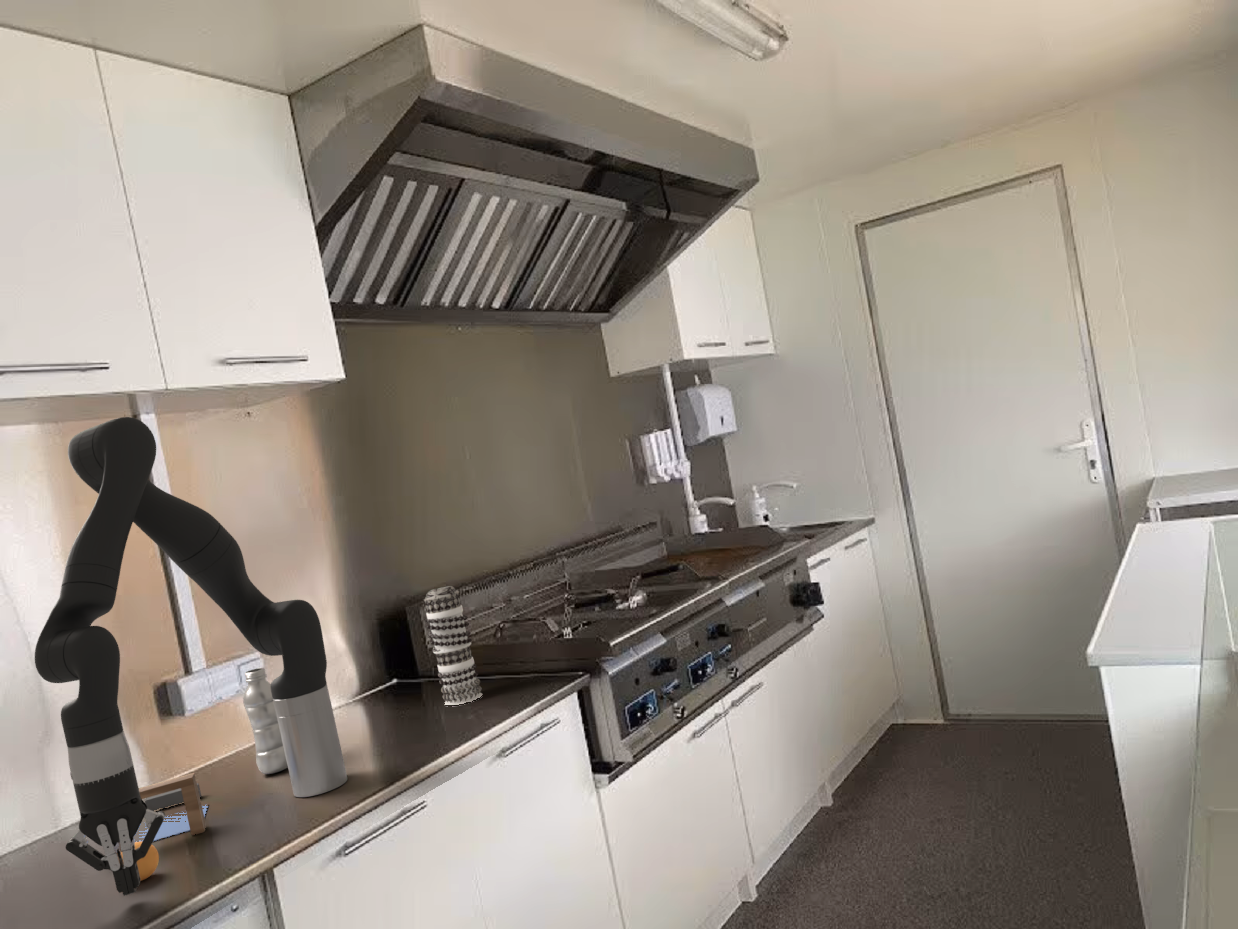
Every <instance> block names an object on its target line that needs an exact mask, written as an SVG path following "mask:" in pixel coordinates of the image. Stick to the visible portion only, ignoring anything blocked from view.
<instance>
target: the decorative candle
mask: <svg viewBox="0 0 1238 929" xmlns="http://www.w3.org/2000/svg"><path fill="white" fill-rule="evenodd" d="M459 593H460V590H457V589H456V588H455V587H454V586H452V585H447V586H441V587H437V588H434V589H431V590H429V591H427V593H426V595H425V598H423V599H422V601H424V606H425V611H426V612H425V615H426V617H425V618H424V621H425V622H426V624H425V626H424V627H426V628H427V630H429V631H428V633H427V635H428V636H429V638H430V640H429V643H430V644H431V645H432V646H433V647H432V650H431V651H432V653H433V654H435V657H436V661H437V665H436V666H437V670H438V673H437V677H438V678H439V679H440V680H439V681H438V683H439V685H441V686H442V687H441V688H440V692H441V693H442V694H443V695H442V699H443V700H444V701H445V702H444V703H445V704H444V706H445V705H459V704H464V703H466V702H471V703H473V702H474V701H473V700H476V699H477V698H480V697H481V696H482V695H483V693H482V687H481V685H480V683H481V680H480V679H479V678H478V677H477V676H478V675H479V671H477V670H476V669H477V668H478V665H477V664H475V660H474V656H473V655H472V650H471V645H472V640H473V639H472V638H470V637H469V636H470V635H471V632H470V631H468V630H467V628H468V627H469V625H470V623H469V622H467V621H466V620H467V619H468V615H466V614H463V612H464V608H463V605H462V603H461V598H460V596H459ZM482 697H483V696H482ZM482 697H481V698H482ZM481 698H480V699H481ZM472 701H473V702H472ZM476 701H477V700H476ZM464 705H465V704H464ZM459 706H460V705H459Z"/></svg>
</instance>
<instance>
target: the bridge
mask: <svg viewBox="0 0 1238 929" xmlns="http://www.w3.org/2000/svg"><path fill="white" fill-rule="evenodd" d="M197 783H198V782H197V779H196V775H195V772H191V773H188V774H185V775H182V776H181V775H180V776H177V777H174V778H171V779H166V780H162V781H160V782H156V783H153V784H150V785H149V784H148V785H145V786H142V787H138V788H139V792H140V796H141V799H142V800H144V799H146V798H148V797H151V796H155V795H158V794H162V793H166V792H169V791H173V790H176V789H180V788H181V791H182V795H183V800H184V804H183V805H184V808H185V811H186V813H187V818H188V822H189V827H190V831H189V832H190V835H192V836H195V834H196V835H199V834H202V833H204V832H206V829H207V824H206V819H205V818H206V817H205V818H204V814H203V809H202V806H203V804H202V800H201V799H200V796H199V791H198V787H197ZM205 828H206V829H205ZM119 848H120V851H121V846H120V842H119ZM121 852H122V851H121Z"/></svg>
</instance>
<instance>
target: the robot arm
mask: <svg viewBox="0 0 1238 929" xmlns="http://www.w3.org/2000/svg"><path fill="white" fill-rule="evenodd" d="M155 439H156V438H155V436H154V434H153V431H152V430H151V429H150V427H149V426H148V425H146V424H145V423H144V421H142V420H140V419H138V418H135V417H132V416H131V417H130V416H123V417H116V418H114V419H111V420H110V419H109V420H107V421H105V422H103V423H101V424H98V425H95V426H91V427H89V428H86V429H84V430H83V431H80V432H79V433H77V434H76V435H74V436H73V437H72V438H71V439H70V441H69V443H68V445H67V446H68V447H67V457H68V461H69V463H70V466H71V467H72V469H73V470H74V473H75V474H76V475H77V476H78V477H79V478H80V479H81V481H83V482H84V483H85V484H86V485H87V486H88V487H90V488H91V489H92V490H93V491H95V492H96V493H97V494H98V495H97V497H96V500H95V502H94V505H93V506H92V508H91V511H90V513H89V515H88V517H87V519H85V522H84V523H83V524H82V527H80V530H79V531H78V534H77V536H76V537H75V539H74V541H73V544H72V545H71V548H70V550H69V553H68V555H67V558H66V563H65V566H64V573H63V576H62V582H61V586H60V592H59V596H58V599H57V601H56V603H55V604H54V607H53V608H52V610H51V612H50V613H49V616H48V618H47V620H46V621H45V624H44V626H43V627H42V630H41V632H40V633H39V637H38V638H37V642H36V645H35V650H34V664H35V668H36V671H37V673H38V674H39V677H41V678H42V679H43V680H45V681H46V682H48V683H53V684H64V683H71V682H74V681H75V682H76V681H78V683H79V684H78V686H79V687H78V694H77V697H76V698H74V699H72V700H70V701H68V702H66V703H65V704H64V705H63V706H62V707H61V709H60V721H61V725H62V729H63V734H64V739H65V743H66V748H67V753H68V754H67V755H68V767H69V770H70V771H69V772H70V773H69V774H70V775H69V776H70V778H71V781H72V784H73V789H74V793H75V797H76V798H75V799H76V802H77V806H78V810H79V816H80V819H79V823H78V829H79V830H78V831H77V832H76V833H75V835H74V836H72V837H70V839H69V840H68V841H67V843H66V844H65V850H66V851H67V852H70V853H71V854H72V855H73V856H74V857H76V858H78V859H80V861H82V862H84V863H86V864H87V865H89V866H90V867H92V868H93V869H94V870H96V871H97V872H98V871H99V872H101V871H103V870H108V871H111V872H112V874H113V879H114V882H115V887H116V891H117V892H118V893H122V895H123V897H125V896H128V895H132V894H135V893H136V891H137V889H138V888H139V886H140V885H141V881H140V880H141V879H140V874H139V870H138V866H137V861H138V860H140V859H141V858H144V857H145V856H146V854H147V852H148V850H149V848H150V846H151V844H152V845H153V843H154V842H153V840H154V838H155V836H156V834H157V832H158V830H159V829H160V827H161V825H162V823H163V820H164V818H165V817H166V813H165V812H164V810H161V811H157V812H154V811H151V810H149V809H147V805H146V803H145V800H144V799H141V796H140V792H139V788H140V787H139V784H138V779H137V775H136V770H135V766H134V761H133V757H132V752H131V748H130V744H129V741H128V739H127V737H126V734H125V731H124V728H123V723H122V722H123V721H122V719H121V718H122V717H121V714H120V709H119V704H118V700H119V698H118V697H119V696H118V695H119V684H120V683H119V681H120V680H119V679H120V668H121V667H120V666H121V665H120V664H121V654H120V653H121V652H120V647H119V644H118V641H117V640H116V638H115V636H114V635H113V634H112V632H110V630H108V629H107V628H105V627H103V626H100V625H92V624H93V623H94V622H95V621H96V620H97V619H99V618H101V617H103V616H105V615H106V614H108V613H109V612H111V610H113V607H114V604H115V601H116V597H117V591H118V586H119V579H120V575H121V568H122V564H123V559H124V558H123V557H124V555H125V554H124V553H125V549H126V546H127V542H128V538H129V535H130V531H131V529H132V526H133V523H134V524H135V525H136V526H137V528H139V529H140V530H141V531H142V532H143V533H144V534H145V535H146V536H147V537H148V538H149V539H151V540H152V541H153V542H154V543H155V545H157V546H158V547H159V548H160V549H161V550H162V551H163V552H164V553H165V554H166V555H167V557H169V558H170V560H172V562H173V563H174V564H175V565H176V566H177V568H179V569H180V570H181V571H183V572H184V574H185V575H186V576H188V577H189V578H190V579H191V580H192V581H193V582H194V583H196V584H197V586H199V587H200V588H201V590H202V591H203V592H204V593H205V594H206V595H207V596H208V597H209V598H210V599H211V600H212V601H213V602H214V603H215V604H216V605H217V606H218V607H219V608H220V609H222V611H223V612H224V613H225V615H226V616H228V618H229V619H230V620H231V622H232V623H233V624H234V625H235V627H236V628H237V629H238V630H239V632H240V633H241V634H242V636H243V637H244V638H245V640H246V641H248V643H249V644H250V645H251V646H252V648H253V649H255V650H256V651H257V652H258V653H261V654H262V655H266V656H270V657H271V656H272V657H274V656H282V664H283V671H282V672H281V674H279V676H278V677H276V678H275V679H273V680H272V681H271V683H270V684H271V686H270V687H271V693H272V698H273V702H274V707H275V711H276V715H277V720H278V724H279V729H280V733H281V738H282V743H283V747H284V752H285V756H286V761H287V765H288V768H287V769H288V774H289V778H290V782H291V789H292V793H293V796H294V797H297V798H307V797H313V796H317V795H321V794H324V793H327V792H330V791H332V790H335V789H337V788H339V787H340V786H341V787H342V785H344V784H345V783H346V782H347V781H348V776H347V770H346V765H345V762H344V756H343V751H342V747H341V741H340V738H339V733H338V728H337V723H336V720H335V719H336V718H335V715H334V709H333V706H332V702H331V698H330V692H329V689H328V687H329V686H328V682H327V676H326V675H327V674H326V673H327V667H328V666H327V664H328V662H327V655H326V648H325V643H324V638H323V637H324V636H323V630H322V626H321V621H320V617H319V616H318V613H317V611H316V610H315V608H314V606H313V605H312V604H311V603H310V602H308V601H306V600H304V599H291V600H284V601H279V602H278V601H277V602H275V601H272V600H271V599H270V598H268V597H267V596H266V595H265V594H263V593H262V592H261V591H260V589H258V588H257V586H256V585H255V584H254V583H253V582H252V580H251V579H250V578H249V576H248V573H247V569H246V564H245V559H244V556H243V552H242V550H241V547H240V545H239V544H238V542H237V540H236V539H235V538H234V536H233V535H232V534H230V532H229V531H228V530H227V529H226V528H225V527H224V526H223V525H222V524H221V522H220V521H219V520H217V518H215V517H214V516H213V515H212V514H210V512H208V511H206V510H205V509H203V508H201V507H199V506H197V505H195V504H193V503H191V502H188V501H186V500H184V499H182V498H180V497H177V496H175V495H173V494H170V493H168V492H167V491H165V490H162V489H161V488H160V487H158V486H157V485H155V484H154V483H153V482H151V481H150V480H149V478H150V476H151V473H152V469H153V468H154V465H155V461H156V456H157V443H156V440H155ZM143 819H145V822H146V823H145V822H144V823H145V826H146V827H147V828H149V830H148V832H147V834H146V836H145V838H144V840H143V842H142V844H141V846H140V847H139V848H137V849H136V850H135V839H134V836H135V835H136V833H137V831H138V829H139V827H140V825H141V823H143ZM89 839H90V840H91V841H93V842H94V843H96V845H98V846H100V847H102V849H103V852H104V853H102V852H100V851H99V850H97V849H96V848H95V847H93V846H92V845H91V844H89ZM119 842H120V846H121V851H122V854H121V851H120V848H119ZM122 855H123V858H122ZM123 862H124V863H123Z"/></svg>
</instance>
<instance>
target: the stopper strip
mask: <svg viewBox="0 0 1238 929" xmlns="http://www.w3.org/2000/svg"><path fill="white" fill-rule="evenodd" d="M199 783H200V782H197V787H198V791H199V796H200V797H201V798H202V792H201V787H200V784H199ZM144 799H145V800H144V802H145V803H146V805H147V809H149V810H151V811H154V810H157V809H159V808H165V807H168V806H171V805H174V804H179V803H182V802H184V800H183V795H182V791H181V788H180V789H176V790H173V791H169V792H166V793H162V794H158V795H155V796H151V797H148V798H144Z"/></svg>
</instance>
